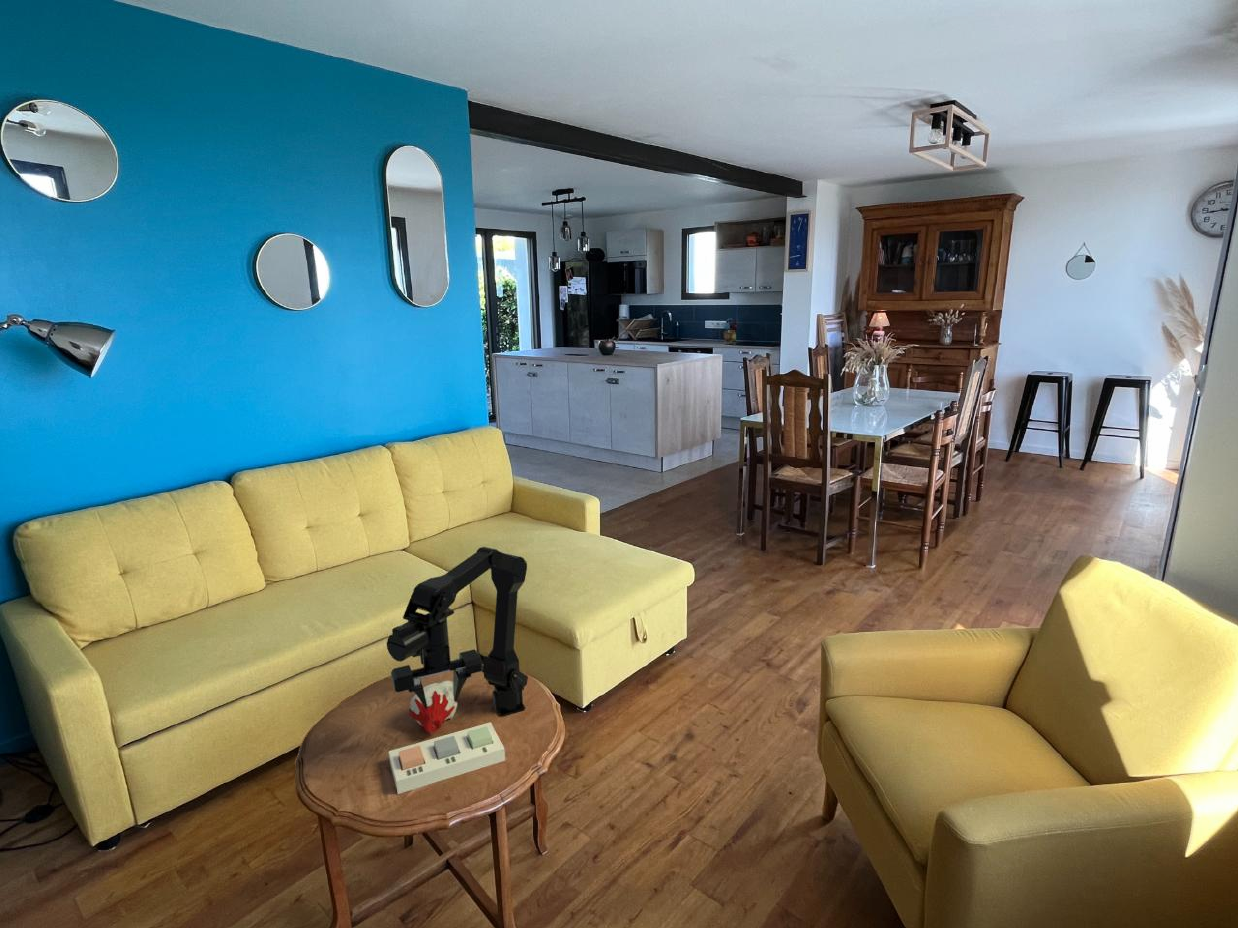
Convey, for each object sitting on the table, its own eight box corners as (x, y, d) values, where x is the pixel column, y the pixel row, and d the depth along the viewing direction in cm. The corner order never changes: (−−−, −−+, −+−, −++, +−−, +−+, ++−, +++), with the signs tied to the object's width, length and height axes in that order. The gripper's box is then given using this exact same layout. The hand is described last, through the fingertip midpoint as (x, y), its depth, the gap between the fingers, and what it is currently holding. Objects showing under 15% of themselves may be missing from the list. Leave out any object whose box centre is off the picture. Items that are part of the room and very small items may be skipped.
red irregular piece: (456, 699, 175) (461, 740, 161) (410, 706, 172) (411, 749, 158) (454, 669, 172) (458, 709, 158) (407, 676, 169) (407, 717, 155)
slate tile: (454, 744, 154) (453, 735, 154) (459, 755, 150) (458, 746, 150) (434, 749, 152) (433, 741, 152) (438, 761, 148) (438, 752, 148)
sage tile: (487, 734, 157) (486, 726, 157) (492, 745, 153) (491, 736, 153) (468, 740, 155) (467, 731, 155) (473, 751, 152) (472, 742, 151)
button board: (491, 733, 161) (490, 721, 161) (505, 760, 152) (504, 747, 151) (389, 763, 152) (388, 750, 151) (397, 793, 142) (396, 780, 141)
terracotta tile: (420, 754, 151) (419, 745, 150) (424, 765, 147) (423, 756, 147) (399, 760, 149) (398, 751, 148) (403, 772, 145) (402, 763, 145)
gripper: (468, 615, 158) (473, 676, 162) (384, 633, 150) (391, 697, 154) (481, 636, 148) (486, 700, 152) (391, 656, 140) (398, 724, 144)
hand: (440, 704), depth 151 cm, fingers open, 6 cm apart
